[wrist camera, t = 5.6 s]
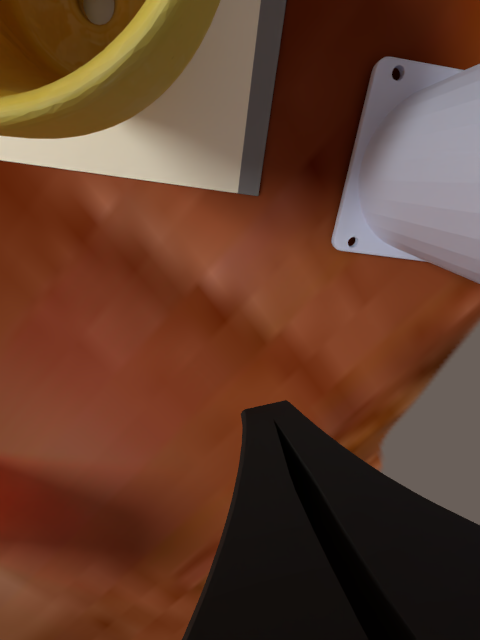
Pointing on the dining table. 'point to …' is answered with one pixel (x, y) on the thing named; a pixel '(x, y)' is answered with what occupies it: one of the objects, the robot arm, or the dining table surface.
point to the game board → (187, 111)
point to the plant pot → (91, 62)
